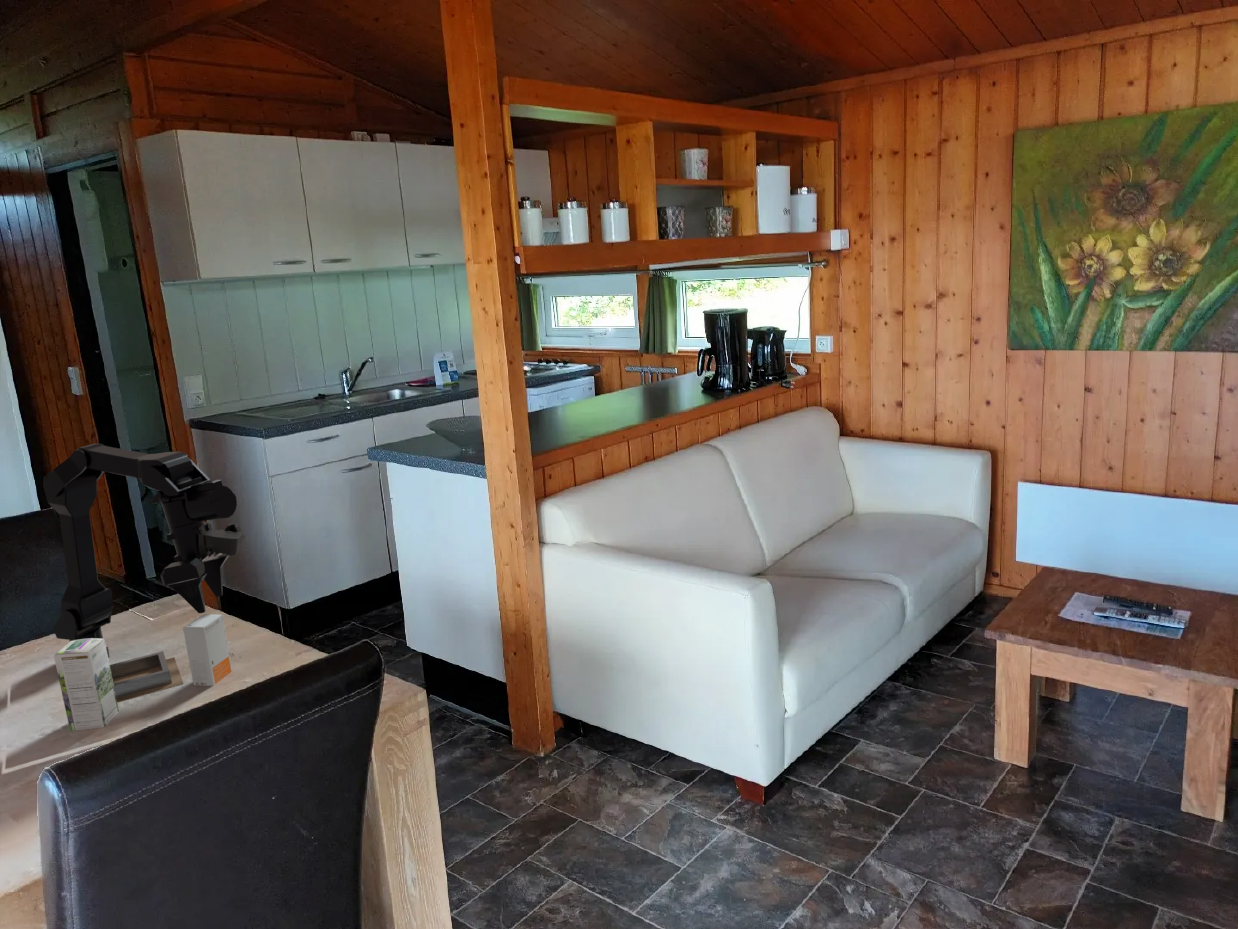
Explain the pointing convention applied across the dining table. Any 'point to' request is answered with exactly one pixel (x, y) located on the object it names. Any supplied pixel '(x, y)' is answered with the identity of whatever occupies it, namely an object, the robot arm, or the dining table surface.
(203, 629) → the skincare box
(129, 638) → the dining table surface
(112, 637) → the dining table surface
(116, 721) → the dining table surface
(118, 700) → the walnut stand
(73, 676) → the syrup box
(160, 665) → the metal collar
